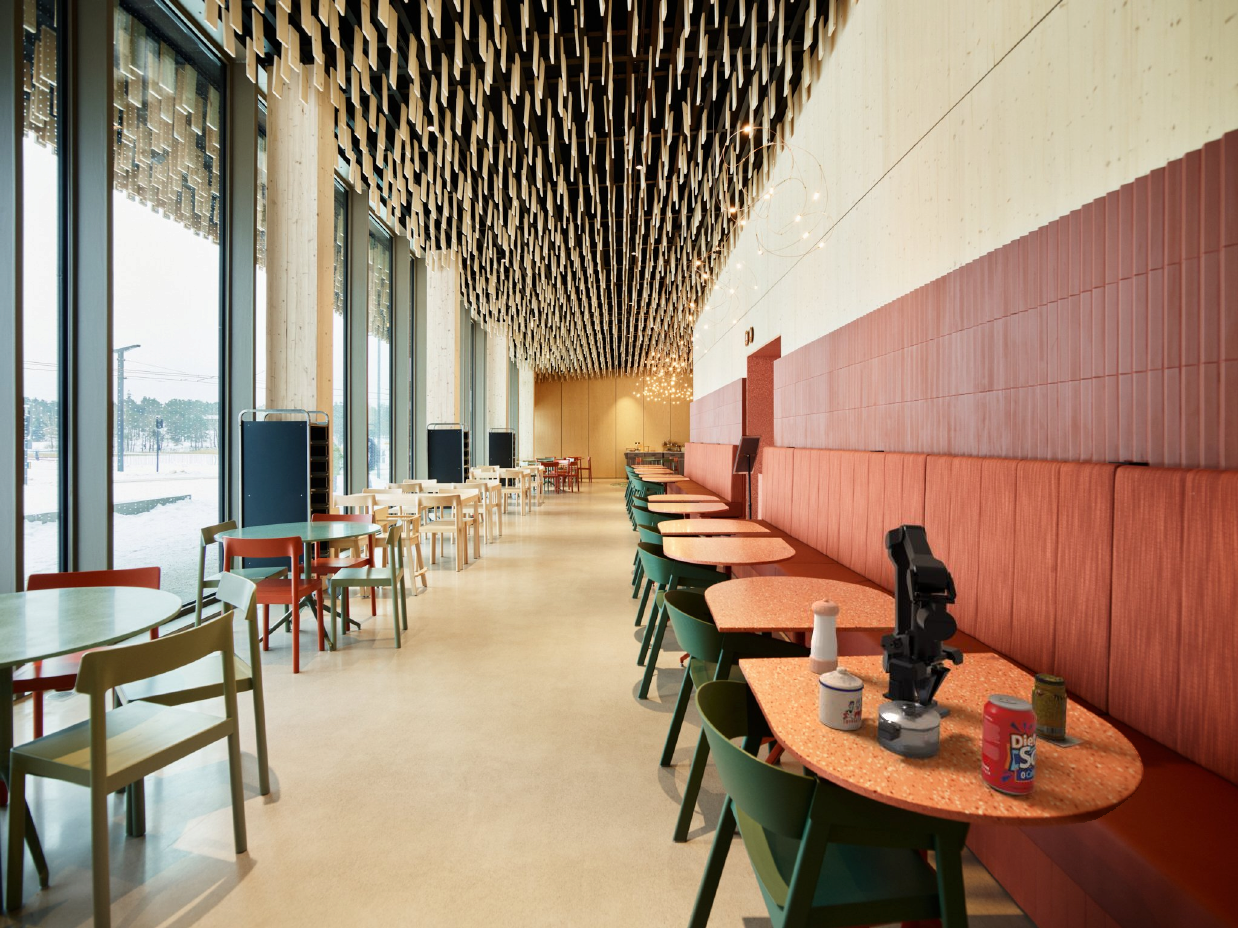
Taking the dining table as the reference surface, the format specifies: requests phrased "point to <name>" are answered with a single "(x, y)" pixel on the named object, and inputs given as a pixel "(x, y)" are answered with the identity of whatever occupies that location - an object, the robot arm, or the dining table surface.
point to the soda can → (1009, 744)
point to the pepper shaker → (824, 637)
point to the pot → (911, 738)
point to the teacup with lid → (840, 700)
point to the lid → (910, 715)
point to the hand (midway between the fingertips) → (925, 702)
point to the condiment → (1051, 710)
